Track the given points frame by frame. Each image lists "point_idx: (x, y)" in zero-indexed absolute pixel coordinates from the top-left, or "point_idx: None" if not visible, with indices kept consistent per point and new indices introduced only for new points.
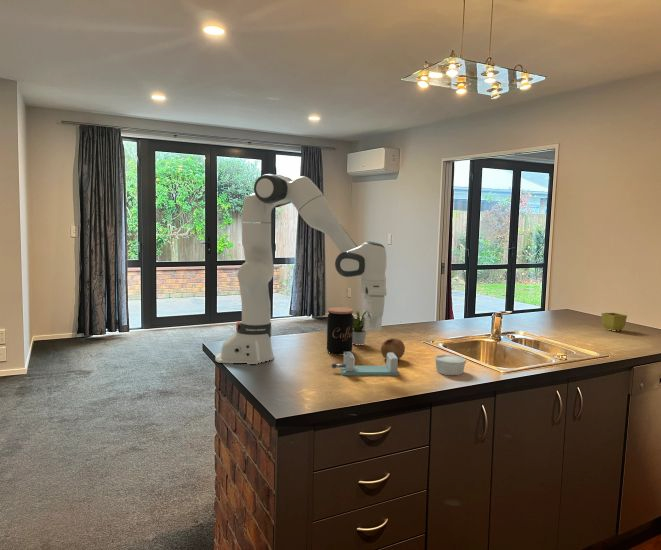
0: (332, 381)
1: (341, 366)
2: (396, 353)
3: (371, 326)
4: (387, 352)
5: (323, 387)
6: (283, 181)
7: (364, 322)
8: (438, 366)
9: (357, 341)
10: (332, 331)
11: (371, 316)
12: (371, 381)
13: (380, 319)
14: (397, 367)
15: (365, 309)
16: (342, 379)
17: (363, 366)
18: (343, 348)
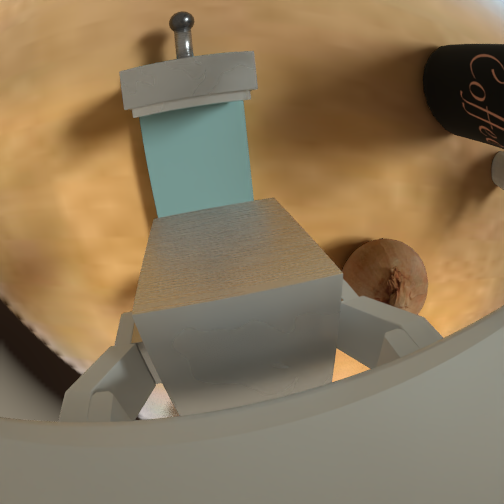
0: (60, 47)
1: (176, 54)
2: None
3: (121, 316)
4: (354, 267)
5: (4, 40)
6: None
7: (181, 254)
8: None
9: (501, 167)
10: (494, 53)
11: (73, 413)
12: (81, 192)
13: None
14: None
15: (480, 323)
16: (85, 77)
17: (235, 154)
18: (438, 94)
